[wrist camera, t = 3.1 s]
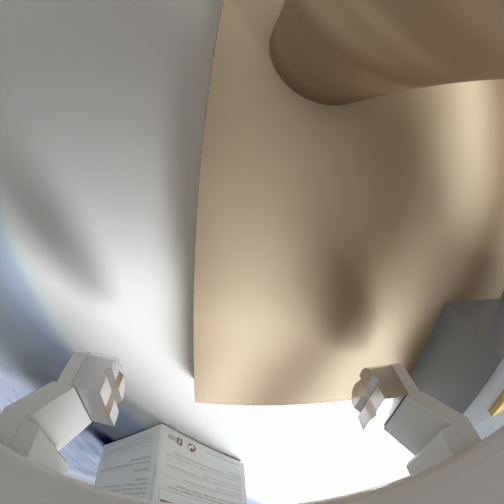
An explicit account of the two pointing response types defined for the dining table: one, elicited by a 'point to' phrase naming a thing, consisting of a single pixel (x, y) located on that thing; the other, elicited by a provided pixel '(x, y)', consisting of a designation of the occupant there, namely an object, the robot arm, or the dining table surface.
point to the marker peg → (385, 46)
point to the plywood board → (334, 223)
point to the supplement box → (170, 469)
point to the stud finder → (465, 359)
